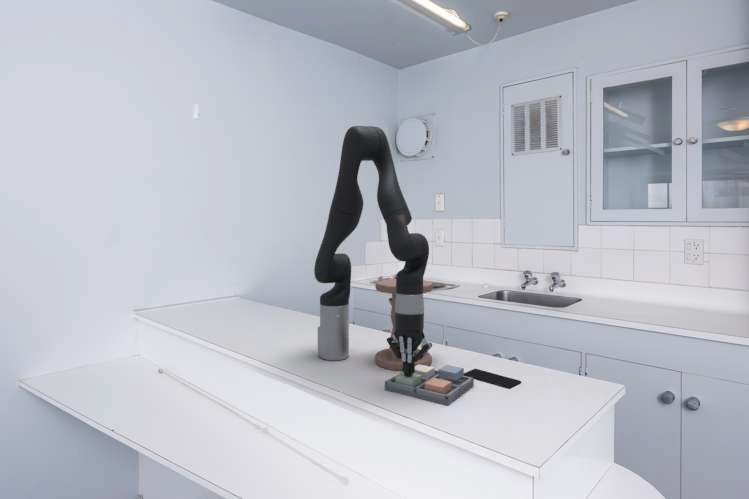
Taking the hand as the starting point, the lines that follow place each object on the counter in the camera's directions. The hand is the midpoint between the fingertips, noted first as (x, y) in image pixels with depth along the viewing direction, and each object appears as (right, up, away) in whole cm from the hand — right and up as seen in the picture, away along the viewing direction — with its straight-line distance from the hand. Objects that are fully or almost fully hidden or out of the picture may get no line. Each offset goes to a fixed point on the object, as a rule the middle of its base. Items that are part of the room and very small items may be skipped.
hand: (408, 375), depth 123 cm
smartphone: (+24, -4, +8) cm, 25 cm away
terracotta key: (+7, -3, -5) cm, 9 cm away
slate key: (+11, -1, +2) cm, 12 cm away
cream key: (+4, -2, +6) cm, 8 cm away
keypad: (+6, -4, +1) cm, 7 cm away
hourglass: (0, -2, +23) cm, 23 cm away
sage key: (0, -2, 0) cm, 2 cm away
